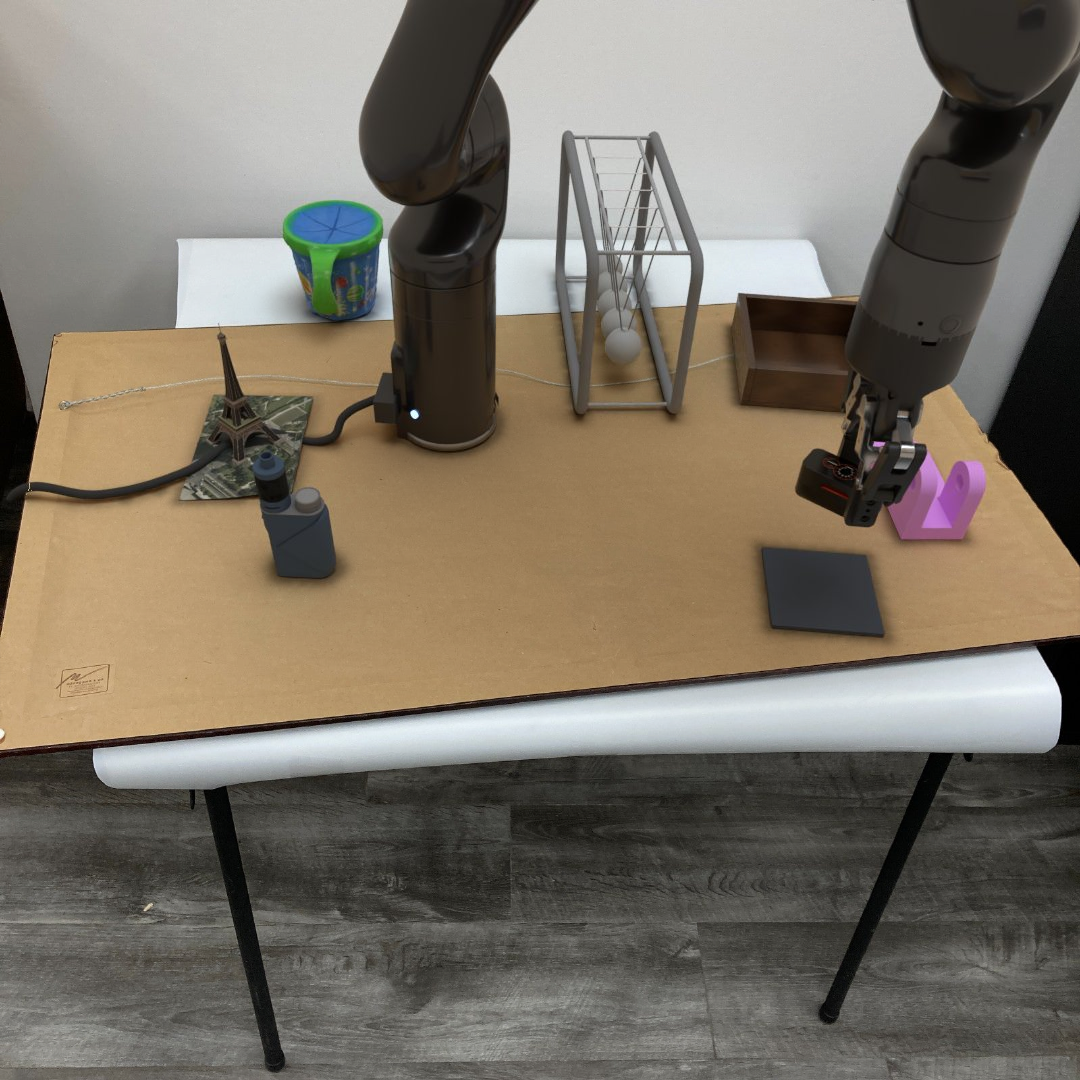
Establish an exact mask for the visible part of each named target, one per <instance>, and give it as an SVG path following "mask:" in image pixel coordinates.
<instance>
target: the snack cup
mask: <svg viewBox="0 0 1080 1080" xmlns="http://www.w3.org/2000/svg"><path fill="white" fill-rule="evenodd" d="M383 237H384V221H383V218H382V216H381V214H380V213H379V212H378V211H377V210H375V209H374V208H372V207H370V206H368V205H367V204H364V203H360V202H357V201H351V200H345V199H326V200H320V201H319V200H318V201H313V202H310V203H307V204H303V205H301V206H298V207H297V208H294V209H293V210H292V211H290V212H289V213H288V214H287V215H286V216H285V218H284V219H283V222H282V238H283V240H284V243H285V244H286V245H287V246H288V247H289V249H290V250H291V253H292V259H293V261H294V265H295V268H296V272H297V276H298V278H299V281H300V283H301V287H302V290H303V293H304V297H305V300H306V302H307V304H308V307H309V309H310V312H312V313H314V314H317V315H319V316H321V317H322V318H325V319H329V320H333V321H336V322H337V321H341V320H352V319H355V318H359V317H360V316H362V315H367V314H368V313H369V312H371V309H372V308H373V307H374V305H375V302H376V297H377V295H376V294H377V284H378V276H379V261H380V260H379V259H380V252H381V251H380V245H381V242H382V239H383Z"/></svg>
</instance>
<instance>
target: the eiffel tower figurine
mask: <svg viewBox="0 0 1080 1080" xmlns="http://www.w3.org/2000/svg"><path fill="white" fill-rule="evenodd" d="M217 324H218V329H219V333H218V334H217V335H216V339H217V341H218V342H219V348H220V354H221V360H222V361H221V362H222V369H223V377H224V388H225V391H224V394H213V395H212V399H211V401H210V405H209V407H208V411H207V414H206V417H205V420H204V423H203V426H202V428H201V432H200V435H199V438H198V441H197V443H196V446H195V450H194V452H193V456H192V459H191V462H190V464H192V463H194V462H196V461H197V460H199V459H200V458H202V457H203V456H205V455H206V454H207V453H209V452H210V451H211V450H213V449H214V448H215V447H217V446H218V445H219V444H221V443H222V442H224V441H225V440H227V439H229V438H231V440H232V443H233V445H231V446H230V447H228V448H227V449H225V450H224V451H223V452H221V454H220V455H219V456H218V457H217V458H215V459H214V460H213V461H212V462H210V463H209V464H207V465H206V466H205V467H203V468H201V469H200V470H198V471H196V472H195V473H193V474H191V475H189V476H186V477H185V480H184V484H183V487H182V490H181V493H180V496H179V499H178V501H191V500H193V501H194V500H215V499H216V500H217V499H229V498H230V499H231V498H232V499H233V498H240V497H248V496H256V495H257V496H258V491H257V487H256V482H255V477H254V473H253V468H252V466H253V463H254V462H255V461H256V460H257V459H258V458H259V455H260V453H262V452H264V451H270V452H272V453H273V455H274V456H277V457H280V458H281V459H282V460H283V462H284V466H285V471H286V476H287V482H288V487H289V492H290V494H292V491H293V487H294V482H295V478H296V474H297V469H298V465H299V462H300V456H301V449H302V446H303V444H302V441H303V436H305V431H306V428H307V423H308V419H309V414H310V411H311V408H312V404H313V400H314V396H313V395H255V394H254V395H253V394H244V392H243V391H242V388H241V385H240V383H239V380H238V377H237V374H236V371H235V368H234V364H233V361H232V358H231V355H230V352H229V348H228V344H227V337H226V335H225V333H223V332H222V331H221V327H220V322H218V323H217ZM270 428H272V429H278V430H283V431H286V432H288V433H290V434H275V433H274V432H273V431H272V430H271V429H270ZM253 432H263V433H265V435H257V436H253V437H249V438H247V437H248V436H249V435H250V434H251V433H253Z"/></svg>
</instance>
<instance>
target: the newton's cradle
mask: <svg viewBox="0 0 1080 1080" xmlns="http://www.w3.org/2000/svg"><path fill="white" fill-rule="evenodd" d="M575 140H584V143H585V147H586V151H587V155H588V159H589V165H590V169H591V173H592V178H593V182H594V186H595V192H596V195H597V203H598V205H597V206H598V213H599V221H600V230H601V238H602V246H603V250H602V249H601V250H600V249H598V243H597V239H596V235H595V231H594V226H593V219H592V216H591V211H590V206H589V202H588V197H587V192H586V188H585V183H584V178H583V174H582V168H581V164H580V160H579V155H578V149H577V144H576V141H575ZM590 140H607V141H609V140H610V141H611V140H612V141H614V140H615V141H619V140H620V141H636V142H637V146H638V149H639V152H640V155H641V156H640V157H639V156H593V152H592V148H591V143H590ZM642 141H645V149H644V146H643V144H642ZM560 143H561V144H560V145H561V146H560V161H559V163H560V164H559V166H560V167H559V180H558V181H559V183H558V199H557V200H558V201H557V219H556V220H557V221H556V222H557V223H556V224H557V225H556V241H555V260H554V261H555V266H554V267H555V269H554V270H555V281H556V287H557V294H558V300H559V302H558V303H559V308H560V316H561V323H562V329H563V335H564V336H563V338H564V343H565V349H566V357H567V364H568V371H569V378H570V379H569V380H570V386H571V393H572V399H573V405H574V409H575V412H576V413H577V414H579V415H584V414H585V413H586V412H587V411H588V408H610V407H611V408H614V407H615V408H618V407H619V408H621V407H622V408H624V407H625V408H627V407H629V408H630V407H633V408H634V407H636V408H637V407H666V409H667V411H668V412H669V413H670V414H677V413H678V412H680V410H681V408H682V405H683V401H684V395H685V389H686V383H687V377H688V370H689V365H690V358H691V354H692V348H693V342H694V335H695V329H696V324H697V317H698V313H699V305H700V300H701V295H702V288H703V282H704V273H705V261H704V260H705V259H704V254H703V250H702V247H701V243H700V242H699V239H698V236H697V233H696V231H695V228H694V226H693V222H692V220H691V217H690V215H689V212H688V209H687V206H686V203H685V200H684V198H683V195H682V193H681V190H680V187H679V184H678V182H677V179H676V177H675V173H674V171H673V168H672V166H671V163H670V160H669V157H668V155H667V151H666V149H665V147H664V143H663V141H662V139H661V135H660V134H659V132H657V131H656V130H654V131H651V132H649V134H647V135H593V134H592V135H587V134H586V135H585V134H583V135H582V134H581V135H580V134H574V133H573V132H572V131H571V130H570V129H569V130H568V129H567V130H565V131H564V132H563V133H562V136H561V142H560ZM596 159H638V162H637V165H636V169H635V172H597V168H596ZM655 159H656V162H657V165H658V169H659V171H660V174H661V176H662V177H661V178H662V179H663V182H664V185H665V188H666V191H667V193H668V197H669V200H670V203H671V206H672V208H673V211H674V214H675V216H676V220H677V223H678V225H679V228H680V232H681V234H682V237H683V240H684V243H685V246H686V249H687V250H678V249H677V246H676V243H675V240H674V236H673V234H672V231H671V228H670V225H669V222H668V219H667V216H666V213H665V210H664V207H663V203H662V201H661V197H660V195H659V192H658V188H657V186H656V183H655V179H654V177H653V174H654V167H655V166H654V165H655ZM641 161H643V167H642V172H638V170H639V168H640V167H639V166H640V164H641ZM599 175H633V179H632V182H631V184H630V189H601V183H600V176H599ZM637 175H641V183H640V184H641V185H640V188H639V189H633V186H634V183H635V180H636V176H637ZM570 179H571V185H572V190H573V195H574V200H575V201H574V202H575V205H576V211H577V216H578V221H579V226H580V233H581V237H582V242H583V243H582V244H583V247H584V252H585V260H586V263H585V264H586V274H585V275H566V248H567V247H566V246H567V245H566V244H567V229H568V211H569V197H570ZM604 191H610V192H611V191H615V192H617V191H619V192H624V191H625V192H628V195H627V198H626V202H625V205H624V207H617V206H616V207H614V206H613V207H612V206H611V207H610V206H609V207H608V206H607V207H605V201H604ZM631 192H638V195H637V198H636V200H635V201H636V202H635V205H634V207H627V205H628V202H629V199H630V196H631ZM652 192H653V195H654V198H655V201H656V204H657V205H656V206H657V207H650V201H651V200H650V199H651V194H652ZM637 206H638V207H637ZM608 209H623V211H622V214H621V217H620V221H619V224H618V225H609V224H610V223H609V216H608ZM626 209H629V210H630V209H632V210H633V211H632V215H631V217H630V221H629V223H628V226H627V225H626V226H625V225H623V226H622V221H623V219H624V215H625V212H626ZM636 209H638V211H637V220H636V226H635V225H632V222H633V220H634V219H633V218H634V216H635V212H636ZM650 209H651V210H654V213H653V215H652V219H651V222H650V225H649V226H647V224H648V216H649V210H650ZM658 211H659V214H660V218H661V220H662V224H663V226H662V225H661V226H660V225H659V226H655V225H653V224H654V222H655V221H654V220H655V217H656V214H657V212H658ZM612 228H617V231H616V234H615V237H614V239H613V229H612ZM620 228H627V231H626V234H625V237H624V239H623V243H622V247H621V249H620V250H617V249H615V244H616V242H617V239H618V235H619V232H620ZM631 228H636V229H635V230H636V231H635V236H634V241H633V243H632V246H631V250H627V249H625V245H626V242H627V238H628V235H629V232H630V229H631ZM647 228H648V232H647V235H646V231H647ZM652 228H653V229H654V228H655V229H657V228H661V229H660V232H659V234H658V237H657V240H656V243H655V246H654V250H645V249H646V246H647V243H648V239H649V236H650V233H651V230H652ZM664 229H665V233H666V236H667V239H668V242H669V245H670V248H671V250H657V248H658V245H659V242H660V239H661V236H662V234H663V230H664ZM624 249H625V250H624ZM622 256H628V260H627V263H626V266H625V270H624V265H623V262H622V259H621V258H622ZM644 256H651V258H650V262H649V264H648V267H647V270H646V273H645V277H644V275H643V274H644V273H643V259H644ZM655 256H689V258H690V278H689V283H688V291H687V297H686V303H685V311H684V317H683V323H682V330H681V336H680V341H679V348H678V353H677V360H676V367H675V373H674V379H673V381H672V379H671V375H670V370H669V368H668V367H669V366H668V365H667V360H666V356H665V352H664V349H663V345H662V341H661V338H660V334H659V331H658V327H657V323H656V319H655V316H654V315H655V314H654V312H653V308H652V305H651V301H650V297H649V293H648V289H647V286H646V281H647V278H648V275H649V273H650V269H651V266H652V263H653V261H654V257H655ZM631 258H632V275H626V273H627V270H628V267H629V265H630V262H631ZM567 280H585V292H584V301H583V302H584V304H583V316H582V329H581V330H582V331H581V345H580V354H579V355H580V356H579V355H578V350H577V348H578V347H577V342H576V336H575V329H574V322H573V316H572V310H571V304H570V297H569V290H568V285H567ZM627 280H632V281H631V284H630V287H628V282H627ZM634 285H635V288H636V289H635V290H636V292H637V297H638V298H637V300H636V304H635V306H634V310H633V303H632V299H631V297H630V295H631V292H632V288H633V286H634ZM628 288H629V290H628ZM638 305H640V308H641V313H642V316H643V320H644V324H645V327H646V332H647V336H648V339H649V344H650V349H651V351H652V355H653V359H654V363H655V367H656V372H657V375H658V379H659V382H660V383H659V384H660V387H661V391H662V395H663V398H664V401H663V402H661V401H659V402H589V399H590V389H591V388H590V387H591V378H592V377H591V376H592V363H593V354H594V341H595V330H596V318H597V313H598V315H599V318H601V323H600V329H601V333H602V335H603V337H604V338H605V342H604V350H605V353H606V354H605V355H606V356H607V357H608V358H609V360H610V361H611V362H613V363H614V364H617V365H621V366H622V365H623V366H625V365H629V364H632V363H633V362H635V361H636V360H637V359H638V358H639V356H640V355H641V352H642V349H643V347H642V345H643V344H642V339H641V337H640V336H639V334H638V333H637V328H638V326H637V325H638V323H637V319H636V316H635V314H636V311H637V308H638ZM632 310H633V313H632ZM672 382H673V383H672Z"/></svg>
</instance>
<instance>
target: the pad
mask: <svg viewBox="0 0 1080 1080" xmlns="http://www.w3.org/2000/svg"><path fill="white" fill-rule="evenodd" d="M761 557H762V564H763V573H764V580H765V588H766V589H765V591H766V597H767V606H768V613H769V620H770V621H769V622H770V628H771V629H780V630H791V631H804V632H805V631H806V632H816V633H828V634H829V633H830V634H842V635H853V636H855V635H856V636H866V637H878V638H879V637H880V638H884V637H885V635H886V634H885V629H884V626H883V622H882V621H883V620H882V616H881V612H880V608H879V603H878V600H877V594H876V591H875V587H874V583H873V578H872V573H871V569H870V564H869V561H868V556H867V554H862V553H861V554H859V553H849V552H848V553H847V552H834V551H822V550H821V551H820V550H810V549H797V548H783V547H770V546H762V547H761Z"/></svg>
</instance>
